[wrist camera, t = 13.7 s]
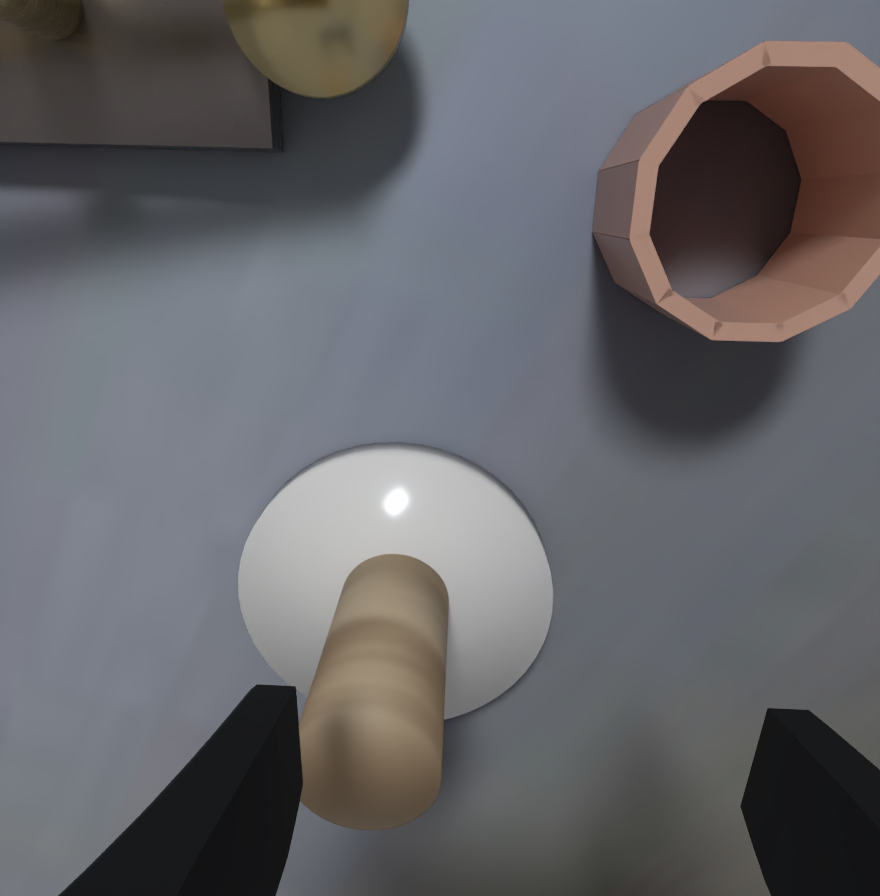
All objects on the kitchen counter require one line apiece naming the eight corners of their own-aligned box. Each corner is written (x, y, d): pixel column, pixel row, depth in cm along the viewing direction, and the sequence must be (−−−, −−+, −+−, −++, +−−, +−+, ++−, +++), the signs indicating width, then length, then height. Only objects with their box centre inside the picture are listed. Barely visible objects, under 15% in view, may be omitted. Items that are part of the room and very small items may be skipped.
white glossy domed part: (535, 705, 23) (539, 731, 21) (262, 692, 23) (252, 717, 22) (562, 448, 19) (568, 463, 18) (236, 436, 19) (222, 450, 18)
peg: (446, 647, 20) (438, 834, 14) (342, 641, 20) (290, 825, 14) (451, 556, 19) (444, 720, 13) (340, 551, 19) (282, 710, 13)
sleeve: (787, 314, 17) (876, 344, 13) (584, 309, 17) (616, 337, 14) (838, 83, 15) (959, 43, 11) (607, 80, 15) (653, 39, 12)
